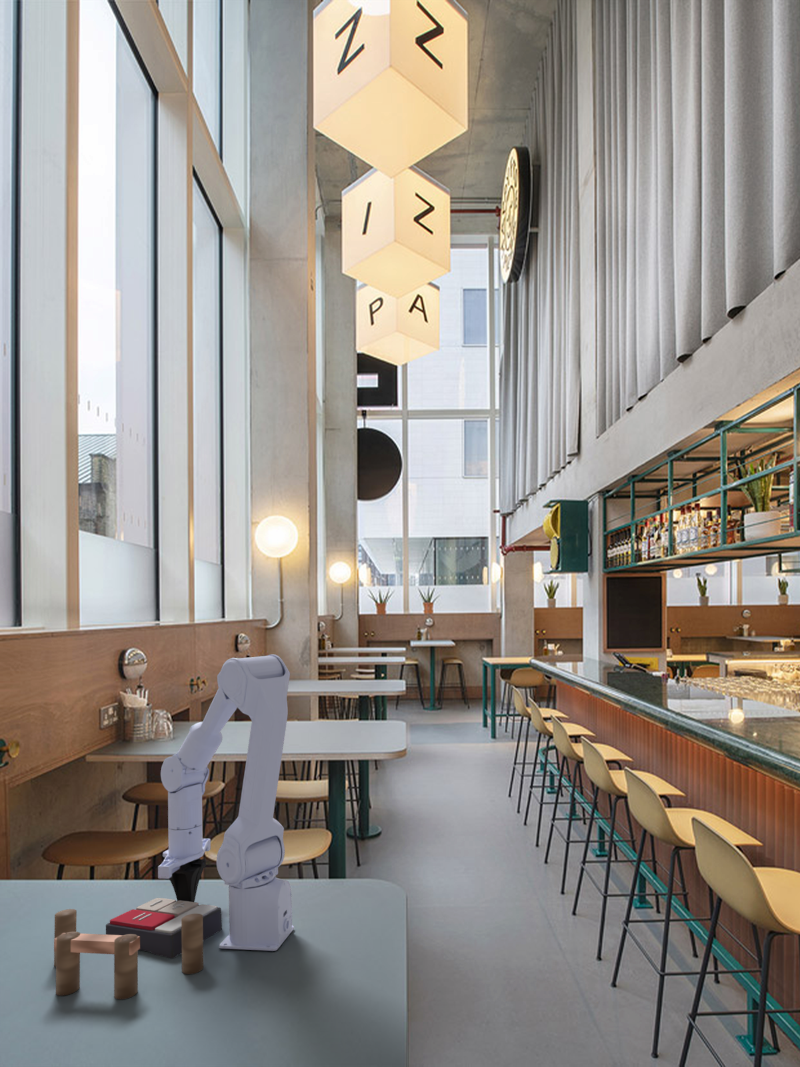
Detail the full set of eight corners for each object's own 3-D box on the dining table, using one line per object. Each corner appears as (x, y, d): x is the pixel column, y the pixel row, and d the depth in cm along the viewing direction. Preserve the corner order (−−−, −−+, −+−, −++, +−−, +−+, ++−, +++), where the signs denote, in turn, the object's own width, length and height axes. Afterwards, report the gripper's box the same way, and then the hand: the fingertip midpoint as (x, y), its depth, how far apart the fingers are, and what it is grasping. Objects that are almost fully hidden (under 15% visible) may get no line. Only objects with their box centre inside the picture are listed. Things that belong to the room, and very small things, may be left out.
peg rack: (207, 964, 101) (206, 913, 102) (170, 1002, 91) (169, 946, 92) (63, 956, 106) (63, 908, 107) (13, 992, 96) (14, 939, 97)
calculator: (157, 894, 121) (222, 902, 114) (158, 921, 120) (223, 930, 113) (104, 919, 111) (171, 929, 104) (104, 948, 111) (172, 960, 104)
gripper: (185, 813, 129) (186, 890, 127) (141, 838, 115) (141, 924, 113) (220, 813, 127) (221, 891, 126) (180, 838, 113) (180, 926, 112)
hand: (186, 907), depth 119 cm, fingers closed
